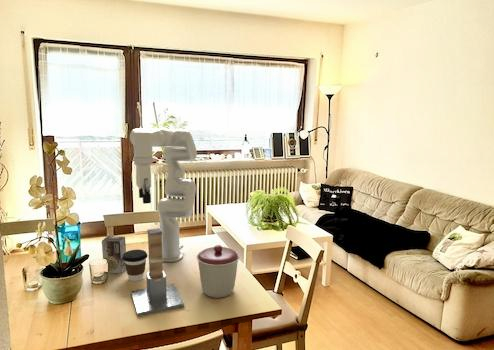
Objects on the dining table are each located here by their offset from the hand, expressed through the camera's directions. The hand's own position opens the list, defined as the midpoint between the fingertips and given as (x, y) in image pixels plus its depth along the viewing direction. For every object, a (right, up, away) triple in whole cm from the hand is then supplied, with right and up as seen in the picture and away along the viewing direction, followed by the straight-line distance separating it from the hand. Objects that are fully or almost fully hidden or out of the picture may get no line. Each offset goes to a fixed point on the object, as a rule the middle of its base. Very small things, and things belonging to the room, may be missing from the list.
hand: (144, 200), depth 163 cm
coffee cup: (-7, -37, +12) cm, 39 cm away
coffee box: (-19, -35, +20) cm, 45 cm away
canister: (+31, -40, +1) cm, 50 cm away
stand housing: (+7, -41, -7) cm, 42 cm away
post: (+7, -31, -9) cm, 33 cm away
